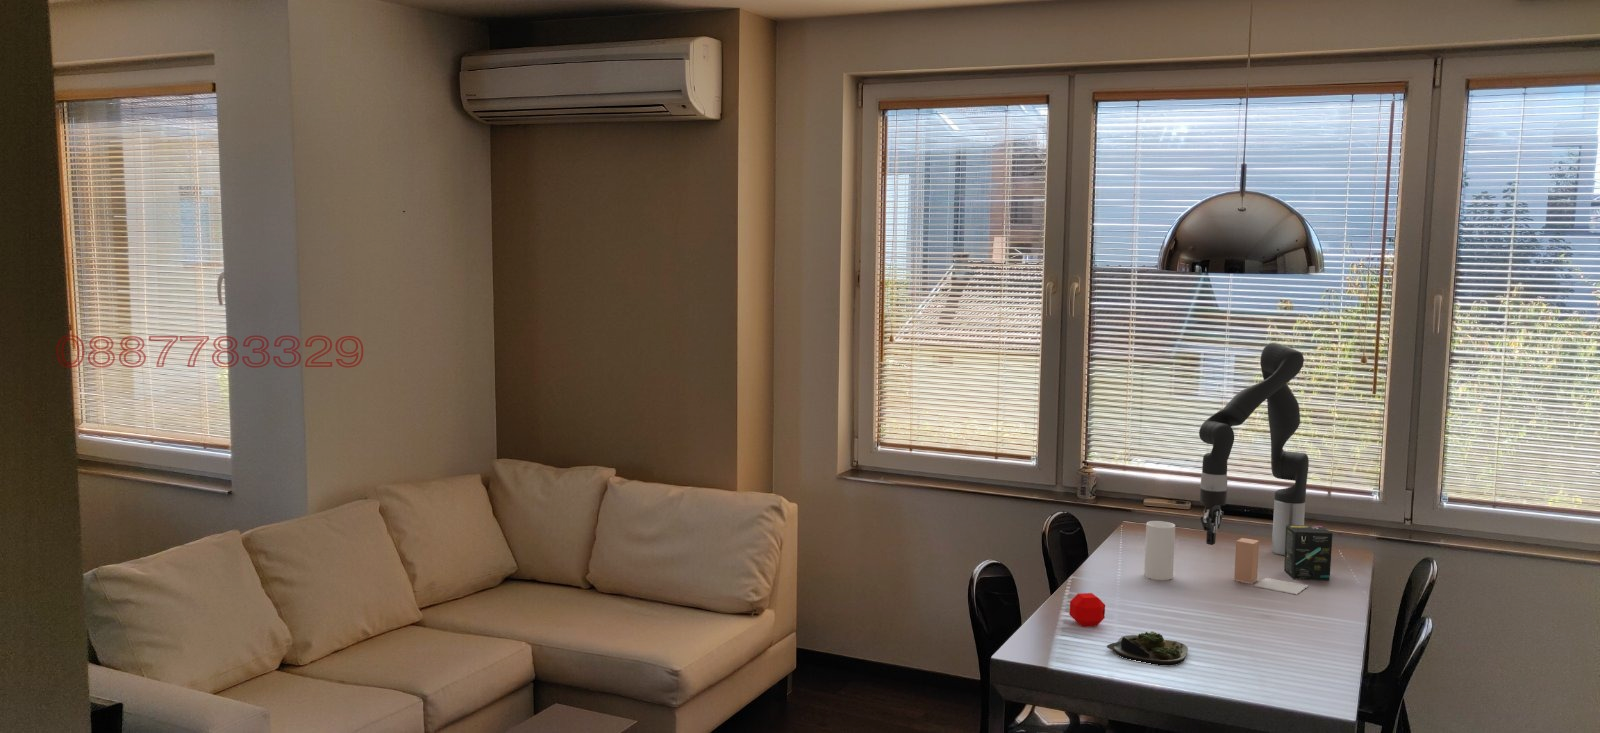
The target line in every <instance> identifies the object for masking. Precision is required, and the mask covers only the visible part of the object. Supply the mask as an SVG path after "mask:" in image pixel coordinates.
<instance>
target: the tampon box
mask: <svg viewBox="0 0 1600 733" xmlns="http://www.w3.org/2000/svg"><path fill="white" fill-rule="evenodd" d="M1332 550H1333V532H1331V531H1330V530H1329V529H1327V528H1325V526H1321V525H1304V526H1297V525H1286V537H1285V555H1284V562H1283V563H1284V566H1283V568H1284V573H1286V574H1287V575H1289V577H1291V578H1292V579H1293V580H1309V579H1313V580H1312V581H1315V580H1316V581H1317V580H1318V581H1330V580H1331V579H1330V578H1331V566H1332V563H1331V562H1332Z"/></svg>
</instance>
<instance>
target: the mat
mask: <svg viewBox="0 0 1600 733" xmlns="http://www.w3.org/2000/svg"><path fill="white" fill-rule="evenodd" d="M1253 587H1254V588H1258V589H1259V588H1260V589H1264V590H1270V591H1275V592H1280V593H1284V592H1285V594H1289V593H1290V594H1291V595H1294V594H1296V595H1295V596H1297V595H1298V593H1299V594H1300V593H1302V592H1303V591H1305V590H1306V589H1307V588H1309V585H1307V584H1302V583H1297V582H1291V581H1285V580H1280V579H1275V578H1270V577H1265V578H1264V579H1262V580H1260V581H1259V582H1257V583H1255V584H1254V585H1253ZM1305 588H1306V589H1305ZM1302 590H1303V591H1302ZM1301 591H1302V592H1301Z"/></svg>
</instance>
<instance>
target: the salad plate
mask: <svg viewBox="0 0 1600 733" xmlns="http://www.w3.org/2000/svg"><path fill="white" fill-rule="evenodd" d="M1106 648H1107V649H1110V650H1111V651H1113V652H1114V653H1115V654H1116V655H1117V656H1118V655H1119V656H1118V657H1120V656H1121V657H1120V658H1122V657H1123V658H1122V659H1124V658H1127V659H1131V660H1136V661H1141V662H1146V663H1151V664H1150V665H1152V664H1158V665H1157V666H1160V665H1173V666H1177V665H1179V664H1181V663H1183V662H1184V661H1185V660H1186V656H1187V654H1188V651H1189V650H1188V649H1189V648H1188V646H1187V645H1186V644H1184V643H1182V642H1180V641H1177V640H1170V639H1169V640H1168V639H1164V637H1163V634H1160V633H1157V632H1154V631H1150V632H1148V631H1146V632H1144V633H1143V632H1141V633H1138V634H1137V635H1136V634H1129V635H1122V636H1121V637H1119V639H1118V640H1117V641H1116V642H1112V643H1109V644H1108V645H1106ZM1127 659H1126V660H1127ZM1131 660H1130V661H1131ZM1146 663H1145V664H1146ZM1176 664H1177V665H1176Z"/></svg>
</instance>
